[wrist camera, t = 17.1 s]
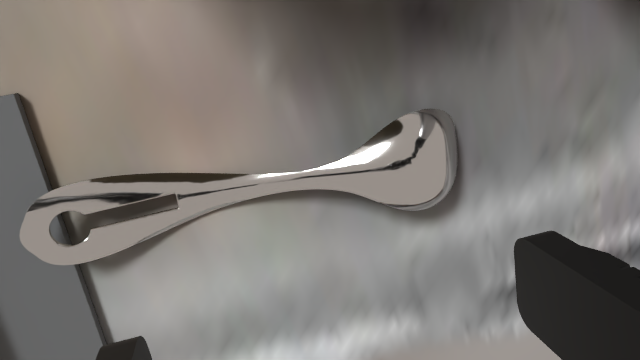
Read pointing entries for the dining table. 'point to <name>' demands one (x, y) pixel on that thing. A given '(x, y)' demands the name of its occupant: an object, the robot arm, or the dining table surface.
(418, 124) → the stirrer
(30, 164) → the mat
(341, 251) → the dining table surface
